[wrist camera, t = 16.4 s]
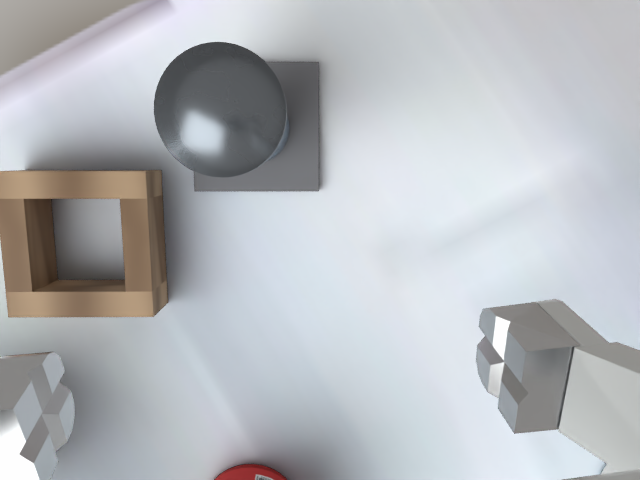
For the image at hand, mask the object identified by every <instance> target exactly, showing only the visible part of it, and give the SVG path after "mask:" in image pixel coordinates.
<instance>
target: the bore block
mask: <svg viewBox="0 0 640 480" xmlns="http://www.w3.org/2000/svg"><path fill="white" fill-rule="evenodd" d="M51 199H120V207H121V223H122V239H123V254H124V270H125V280H58V275H57V263H56V251H55V240H54V228H53V216H52V204H51ZM0 240H1V250H2V259H3V269H4V279H5V289H6V299H7V309H8V317H154V316H155V315H156V314H157V313H158V312H159V311H160V310H161V309H162V308H163V307H164V306H165V305H166V304H167V303H168V293H167V273H166V253H165V233H164V212H163V192H162V172H161V170H19V171H0Z"/></svg>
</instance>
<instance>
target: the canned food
mask: <svg viewBox="0 0 640 480" xmlns="http://www.w3.org/2000/svg"><path fill="white" fill-rule="evenodd" d="M215 480H287V479H286V478H285V477H284V476H283V475H282V474H280V473H279V472H277V471H275V470H274V469H272V468H269V467H266V466H263V465H256V464H244V465H239V466H235V467H232V468H230V469H227V470H226V471H224V472H223V473H221V474H220V475H219V476H218V477H217V478H216V479H215Z"/></svg>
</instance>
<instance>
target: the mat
mask: <svg viewBox="0 0 640 480" xmlns="http://www.w3.org/2000/svg"><path fill="white" fill-rule="evenodd" d="M266 63H267V64H268V66H269V67H270V68H271V69H272V70H273V72H274V73H275V75H276V76H277V78H278V80H279V82H280V84H281V87H282V89H283V92H284V95H285V100H286V106H287V116H288V120H289V127H290V128H289V137H288V140H287V142H286V145H285V146H284V148H283V149H282V151H281V152H280V153H279V154H278V155H277V156H275V157H274V158H272V159H270V160H268V161H266V162H265V163H263V164H262V165H261V166H259V167H258V168H256V169H254V170H252V171H250V172H248V173H245V174H242V175H238V176H234V177H224V178H222V177H211V176H206V175H203V174H200V173H197V172H195V171H194V190H195V191H319V62H266Z"/></svg>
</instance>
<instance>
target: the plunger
mask: <svg viewBox="0 0 640 480" xmlns="http://www.w3.org/2000/svg"><path fill="white" fill-rule="evenodd" d="M154 115H155V122H156V126H157V129H158V132H159V134H160V137H161V139H162V141H163V143H164V144H165V146H166V147H167V149H168V150H169V152H170V153H171V154H172V155H173V156H174V157H175V158H176V159H177V160H178V161H179V162H181V163H182V164H183V165H184V166H186V167H188V168H189V169H191V170H193V171H195V172H197V173H200V174H203V175H206V176H211V177H222V178H224V177H234V176H238V175H242V174H245V173H248V172H250V171H252V170H254V169H256V168H258V167H259V166H261V165H262V164H263V163H265V162H266V161H268V160H270V159H272V158H274V157H275V156H277V155H278V154H279V153H280V152H281V151H282V149H283V148H284V146H285V145H286V142H287V140H288V137H289V128H290V127H289V120H288V116H287V106H286V100H285V95H284V92H283V89H282V87H281V84H280V82H279V80H278V78H277V76H276V75H275V73H274V72H273V70H272V69H271V68H270V67H269V66H268V64H267V63H266V62H265V61H264V60H263V59H261V58H260V57H259V56H258V55H256V54H255V53H253V52H252V51H250V50H248V49H246V48H244V47H241V46H238V45H236V44H231V43H226V42H211V43H205V44H200V45H197V46H195V47H192V48H190V49H188V50H186V51H184V52H183V53H182V54H180V55H179V56H177V57H176V58H175V59H174V60H173V61H172V62H171V63H170V64H169V66H168V67H167V68H166V70H165V71H164V73H163V75H162V76H161V78H160V81H159V83H158V86H157V89H156V93H155V100H154Z"/></svg>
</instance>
